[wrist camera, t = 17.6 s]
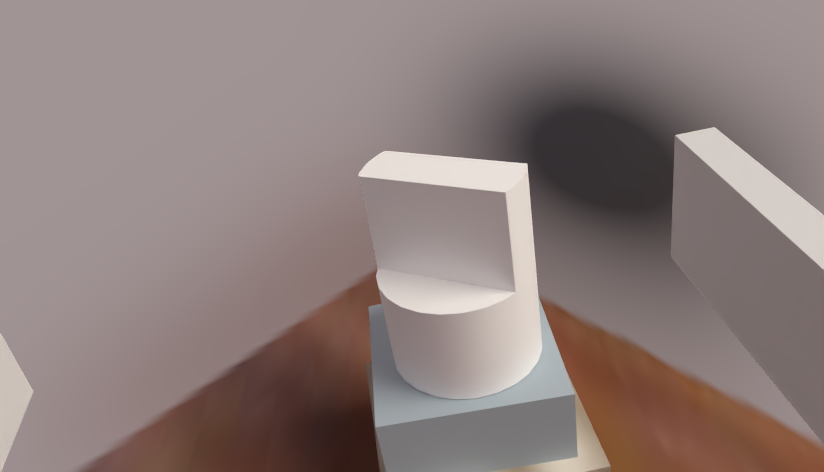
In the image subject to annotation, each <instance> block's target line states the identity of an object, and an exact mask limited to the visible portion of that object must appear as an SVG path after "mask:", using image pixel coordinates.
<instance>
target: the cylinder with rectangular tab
mask: <svg viewBox="0 0 824 472" xmlns="http://www.w3.org/2000/svg"><path fill="white" fill-rule="evenodd" d="M358 178H359V183H360V187H361V192H362V197H363V201H364V206H365V211H366V215H367V220H368V225H369V229H370V234H371V239H372V243H373V247H374V253H375V257H376V261H377V267H378V270H377V274H376V279H377V283H378V288H379V292H380V297H381V302H382V306H383V311H384V315H385V320H386V324H387V329H388V334H389V338H390V343H391V347H392V352H393V357H394V361H395V365H396V369H397V371H398V372H399V374H400V375H401V376H402V378H403V379H404V381H406V382H407V383H408V384H410V385H411V386H413V387H414V388H415V389H417V390H418V391H421V392H424V393H426V394H429V395H432V396H434V397H441V398H448V399H454V400H455V399H475V398H480V397H484V396H488V395H492V394H496V393H498V392H501V391H503V390H505V389H507V388H509V387H511V386H513V385H515V384H516V383H518V382H519V381H520V380H522V379H523V378H524V377H526V376H527V375H528V374H529V373H530V372H531V370H532V369H533V368H534V366H535V365H536V364H537V362H538V361H539V357H540V354H541V351H542V336H541V324H540V312H539V300H538V288H537V277H536V264H535V252H534V239H533V228H532V216H531V204H530V191H529V180H528V167H527V164H524V163H512V162H502V161H491V160H480V159H469V158H457V157H447V156H436V155H424V154H414V153H402V152H392V151H384V152H382V153H380V154H379V155H377V156H376V157H375V158H373V159H372V160H370V161H369V162H368V163H367V164H366V165H365V166H364V168H363V169H362V170H361V171H360V173H359V175H358Z"/></svg>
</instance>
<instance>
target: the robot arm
mask: <svg viewBox="0 0 824 472" xmlns="http://www.w3.org/2000/svg"><path fill="white" fill-rule="evenodd" d="M674 155H675V156H674V181H673V182H674V183H673V210H672V237H671V239H672V240H671V257H672V259H673V260H674V261H675V262H676V263H677V265H678V266H679V267H680V268H681V269H682V271H683V272H684V273H685V274H686V276H687V277H688V278H689V279H690V280H691V282H692V283H693V284H694V286H695V287H696V288H697V289H698V290H699V292H700V293H701V294H702V295H703V296H704V298H705V299H706V300H707V301H708V303H709V304H710V305H711V306H712V308H713V309H714V310H715V311H716V312H717V314H718V315H719V316H720V317H721V318H722V320H723V321H724V322H725V323H726V325H727V326H728V327H729V328H730V330H731V331H732V332H733V333H734V335H735V336H736V337H737V338H738V339H739V341H740V342H741V343H742V344H743V346H744V347H745V348H746V349H747V351H748V352H749V353H750V354H751V355H752V357H753V358H754V359H755V360H756V362H757V363H758V364H759V365H760V366H761V368H762V369H763V370H764V371H765V373H766V374H767V375H768V376H769V377H770V379H771V380H772V381H773V382H774V384H775V385H776V386H777V387H778V389H779V390H780V391H781V392H782V393H783V395H784V396H785V397H786V398H787V399H788V401H789V402H790V403H791V404H792V406H793V407H794V408H795V409H796V410H797V412H798V413H799V414H800V415H801V417H802V418H803V419H804V420H805V422H806V423H807V424H808V425H809V426H810V428H811V429H812V430H813V431H814V433H815V434H816V435H817V436H818V438H819V439H820V440H821V441H822V442H823V444H824V215H823V214H822V213H820V212H819V211H818V210H817V209H815V208H814V207H813V206H812V205H810V204H809V203H808V202H807V201H805V200H804V199H803V198H801V197H800V196H799V195H798V194H797V193H795V192H794V191H793V190H792V189H791V188H789V187H788V186H787V185H785V184H784V183H783V182H782V181H781V180H779V179H778V178H777V177H776V176H774V175H773V174H772V173H771V172H769V171H768V170H767V169H765V168H764V167H763V166H762V165H761V164H759V163H758V162H757V161H756V160H754V159H753V158H752V157H751V156H750V155H748V154H747V153H746V152H745V151H743V150H742V149H741V148H740V147H738V146H737V145H736V144H735V143H733V142H732V141H731V140H730V139H728V138H727V137H726V136H725V135H723V134H722V133H721V132H720V131H718V130H717V129H716V128H715V127H713V128H708V129H703V130H699V131H693V132H689V133H684V134H679V135H675V154H674ZM32 394H33V390H32V389H31V387H30V385H29V383H28V381H27V379H26V378H25V376H24V374H23V372H22V370H21V369H20V367H19V365H18V363H17V362H16V360H15V358H14V356H13V354H12V353H11V351H10V349H9V347H8V345H7V344H6V342H5V340H4V338H3V337H2V335H1V333H0V472H1V471H2V468H3V466H4V463H5V461H6V458H7V455H8V453H9V451H10V448H11V446H12V443H13V441H14V438H15V436H16V433H17V431H18V429H19V426H20V423H21V421H22V418H23V416H24V414H25V411H26V409H27V406H28V404H29V401H30V399H31V396H32Z"/></svg>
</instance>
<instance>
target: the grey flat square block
mask: <svg viewBox="0 0 824 472" xmlns="http://www.w3.org/2000/svg"><path fill="white" fill-rule="evenodd" d="M538 300H539V297H538ZM539 312H540V324H541V336H542V351H541V354H540V357H539V361H538V362H537V364H536V365H535V366H534V368H533V369H532V370H531V372H530V373H529V374H528V375H527V376H526V377H524V378H523V379H522V380H520V381H519V382H518V383H516V384H515V385H513V386H511V387H509V388H507V389H505V390H503V391H501V392H498V393H496V394H492V395H488V396H484V397H480V398H475V399H455V400H454V399H448V398H441V397H434V396H432V395H429V394H426V393H424V392H421V391H418V390H417V389H415V388H414V387H413V386H411V385H410V384H408V383H407V382H406V381H404V379H403V378H402V376H401V375H400V374H399V372H398V371H397V369H396V365H395V361H394V357H393V352H392V347H391V343H390V338H389V334H388V329H387V324H386V320H385V315H384V311H383V306H382V304H380V305H374V306H369V319H370V338H371V356H372V375H373V394H374V412H375V428H376V432H377V436H378V441H379V445H380V449H381V453H382V457H383V461H384V465H385V469H386V472H492V471H498V470H504V469H510V468H516V467H522V466H528V465H534V464H540V463H546V462H552V461H558V460H564V459H570V458H576V457H578V450H577V429H576V408H575V393H574V390H573V388H572V385H571V382H570V380H569V377H568V374H567V372H566V369H565V366H564V364H563V361H562V358H561V356H560V353H559V350H558V348H557V345H556V342H555V340H554V337H553V334H552V332H551V329H550V326H549V324H548V321H547V318H546V316H545V313H544V310H543V308H542V305H541V302H540V300H539Z"/></svg>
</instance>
